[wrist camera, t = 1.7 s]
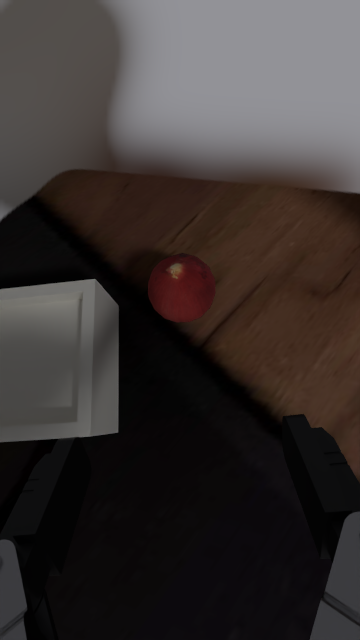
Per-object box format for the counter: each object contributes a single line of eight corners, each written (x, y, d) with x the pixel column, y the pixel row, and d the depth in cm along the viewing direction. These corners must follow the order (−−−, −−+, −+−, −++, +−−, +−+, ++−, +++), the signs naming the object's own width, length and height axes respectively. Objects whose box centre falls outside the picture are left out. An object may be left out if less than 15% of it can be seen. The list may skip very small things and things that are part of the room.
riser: (119, 306, 31) (95, 278, 24) (119, 432, 27) (90, 436, 21) (8, 318, 32) (-42, 293, 25) (-7, 440, 28) (-70, 446, 22)
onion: (169, 271, 31) (153, 223, 23) (223, 286, 30) (225, 240, 22) (148, 322, 29) (124, 288, 22) (204, 340, 28) (199, 311, 21)
